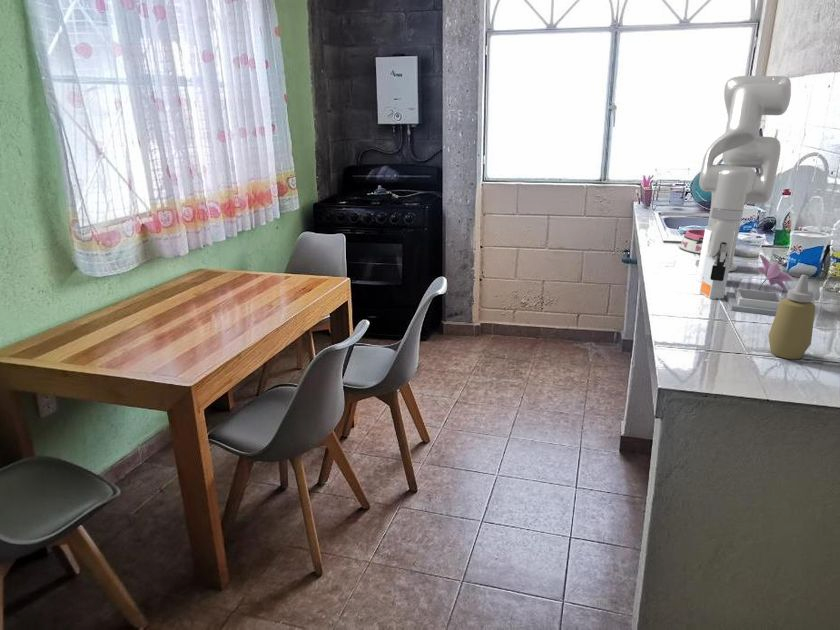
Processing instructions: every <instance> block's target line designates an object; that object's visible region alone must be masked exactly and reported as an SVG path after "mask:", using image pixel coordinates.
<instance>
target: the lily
mask: <svg viewBox="0 0 840 630" xmlns="http://www.w3.org/2000/svg"><path fill="white" fill-rule="evenodd" d="M759 258H760V260H761V261H762V264H763V267H756V268H755V269H756V271H759V272H760V273H762V274H764V275H765V276H766V277H765V279H764V281H763V282H762V283H761V284H760V286H759V288H758V290H757V291H761V290H760V289H761V288H762V286H763V285H764V284H765V282H766V281H768V283H769V285H770V286H774V285H778V286H779V287H780V288H781V289H783V290H784V292H788V290H787V288H786V284H785V283H786V282H794V281H795V279H794V278H793V277H792V276H791V275H790V274H789V273H787V272H785V271H782V270H780V266H779V263H778V262H774V263H771V261H770V260H768V258H766V257H765V256H764V255H762V254H759ZM784 282H785V283H784Z"/></svg>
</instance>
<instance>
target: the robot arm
mask: <svg viewBox="0 0 840 630" xmlns="http://www.w3.org/2000/svg"><path fill="white" fill-rule="evenodd" d="M791 83H792V82H791V80H790V78H789V77H787V76H783V75H740V76H739V75H738V76H734V77H731V78H729V79H728V80H727V81H726V82H725V85H724V91H723V93H724V94H723V95H724V96H723V97H724V104H725V108H726V112H727V122H726V128H725V132H724V133H723V134H722V135H720V136H719V137H718V138H717V139H715V140H714V141H713V142H712V143H711V145H710V146H709V147H708V148H707V150H706V151H705V154H704V156H703V159H702V162H701V163H702V164H701V168H700V173H699V178H698V179H699V180H698V182H699V183H698V185H699V188H700V189H701V190H702V191H703V192H705V193H706V192H707V193H711V200H710V202H711V203H710V209H709V217H708V222H707V227H706V228H712V231H711V236H710V240H709V245H708V249H707V252H708V254H709V256H710V257H712V256H715V260H714V265H713V267H712V272H711V277H710V279H711V280H717V281H723V279H724V274H725V269H726V259H727V258H728V257H729V255H730V251H731V247H732V251H731V256H730V258H731V262H730V267H729V272H734V271H736V270H737V268H738V265H737V264H735V263H733V262H734V258H735V253H736V252H735V251H736V248H737V242H738V237H739V232H740V227H741V223H742V219H743V218H742V217H743V213H744V209H745V203H746V204H766V203H768V202H769V201H770V199H771V197H772V194H773V191H774V187H775V182H776V176H777V171H778V168H779V162H780V158H781V157H780V155H781V147H782V146H781V142H780V140H779V139H778V138H776V137H772V136H759V134H760V128H761V123H762V117H763V116H781V115H784V114H785V112H787V109H788V107H789V105H790V102H791V95H792V94H791V93H792V84H791ZM719 155H722V161H723V164H725V165H721V164H720V165H719V164H714V161H715V159H717V157H719ZM754 169H758V170H759V171H760V172H756V171H755V170H754ZM734 232H735V236H734ZM733 237H734V241H733ZM732 242H733V246H732ZM699 261H700V259H697V260H696V261H695V266H697V267H698V266H699Z"/></svg>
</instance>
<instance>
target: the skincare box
mask: <svg viewBox="0 0 840 630" xmlns="http://www.w3.org/2000/svg"><path fill="white" fill-rule="evenodd" d="M714 260H715V256H712V257H710V256H709V254H708V253H707V254H706V260H705V265H704V271H703V276H702V281H701V282H700V287H699V293H700V294H702V295H703V296H705V297H706V298H707V299H709V298H710V299H709V300H717V299H716V298H722V299H721V300H723V299H724V298H725V297H724V296H725V292H726V287H727V283H728V278H729V272H730V271H729V267H730V262H731V258H730V257H728V258H727V259H726V269H725V274H724V279H723V281H717V280H711V279H710V277H711V272H712V267H713V265H714Z"/></svg>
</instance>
